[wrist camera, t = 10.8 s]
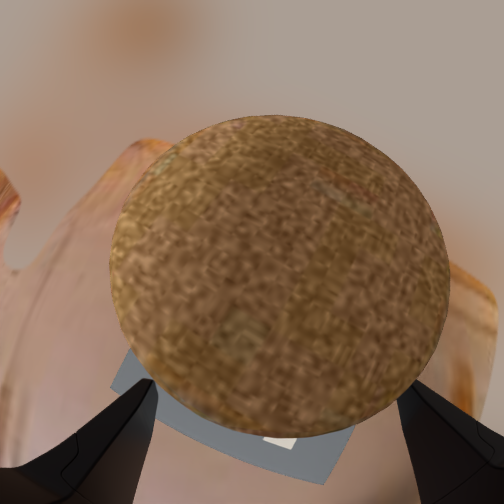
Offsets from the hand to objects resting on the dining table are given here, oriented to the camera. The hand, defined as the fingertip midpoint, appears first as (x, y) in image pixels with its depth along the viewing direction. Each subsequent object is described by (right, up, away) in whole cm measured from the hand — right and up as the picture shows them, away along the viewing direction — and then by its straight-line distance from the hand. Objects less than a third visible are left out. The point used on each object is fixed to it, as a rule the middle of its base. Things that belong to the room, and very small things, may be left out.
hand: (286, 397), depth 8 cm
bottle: (-1, -1, +9) cm, 9 cm away
